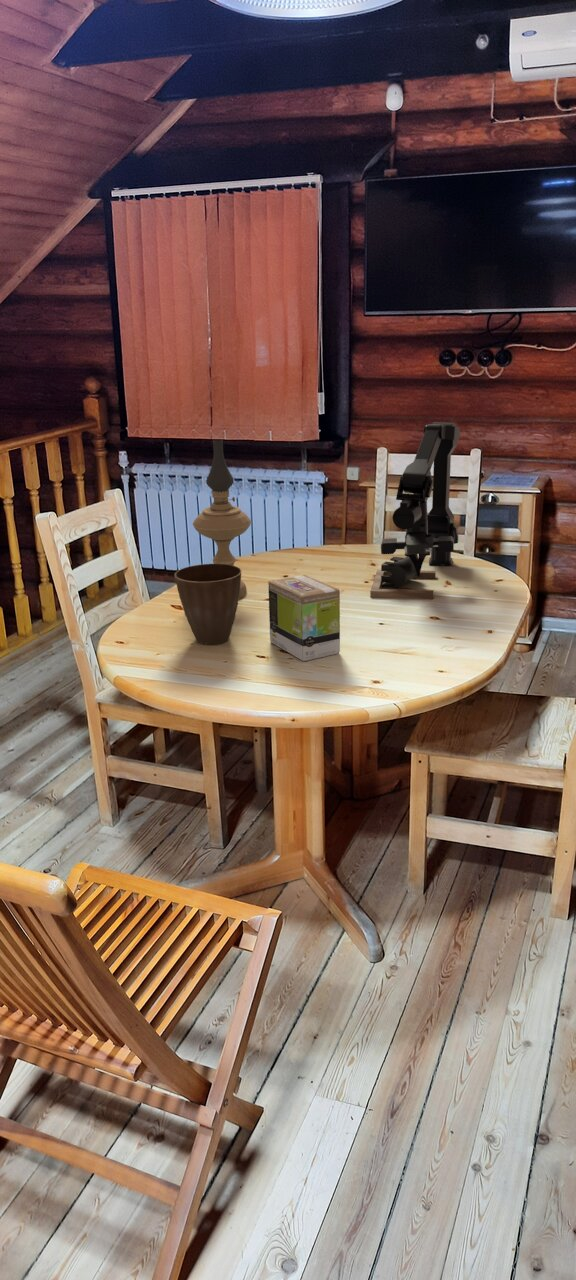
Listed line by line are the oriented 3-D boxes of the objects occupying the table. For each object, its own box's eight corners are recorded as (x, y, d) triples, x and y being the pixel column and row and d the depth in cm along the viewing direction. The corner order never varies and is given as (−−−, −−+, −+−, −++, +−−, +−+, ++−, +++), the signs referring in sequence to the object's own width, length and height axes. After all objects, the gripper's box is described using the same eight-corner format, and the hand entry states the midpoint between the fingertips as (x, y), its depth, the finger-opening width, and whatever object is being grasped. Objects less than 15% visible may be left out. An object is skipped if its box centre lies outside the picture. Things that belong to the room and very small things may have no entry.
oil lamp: (264, 595, 245) (259, 440, 231) (214, 606, 238) (205, 447, 224) (236, 582, 257) (229, 434, 243) (187, 592, 250) (177, 440, 236)
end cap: (405, 590, 246) (405, 565, 244) (380, 587, 250) (380, 562, 247) (419, 580, 255) (419, 556, 252) (395, 577, 258) (395, 553, 256)
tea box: (341, 653, 205) (341, 588, 200) (302, 663, 200) (300, 596, 195) (306, 634, 217) (305, 572, 212) (268, 642, 213) (266, 579, 208)
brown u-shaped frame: (377, 575, 260) (377, 569, 260) (435, 576, 258) (435, 570, 257) (370, 597, 242) (370, 591, 241) (433, 598, 239) (433, 592, 239)
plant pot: (172, 650, 210) (166, 581, 204) (187, 627, 223) (183, 562, 218) (237, 651, 208) (234, 582, 202) (249, 629, 221) (246, 563, 216)
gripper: (377, 528, 238) (381, 587, 243) (452, 525, 234) (454, 585, 240) (381, 517, 248) (384, 573, 254) (453, 514, 244) (454, 571, 250)
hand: (418, 576), depth 249 cm, fingers closed
